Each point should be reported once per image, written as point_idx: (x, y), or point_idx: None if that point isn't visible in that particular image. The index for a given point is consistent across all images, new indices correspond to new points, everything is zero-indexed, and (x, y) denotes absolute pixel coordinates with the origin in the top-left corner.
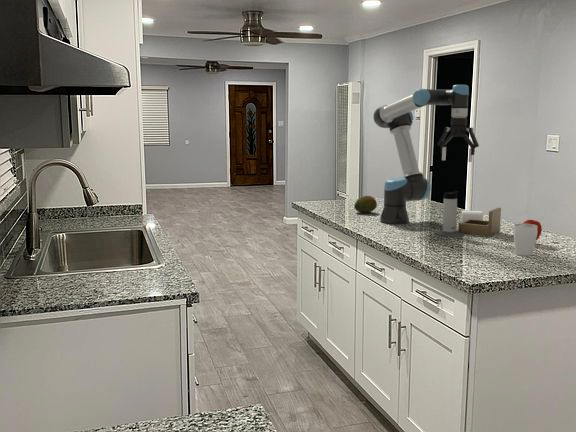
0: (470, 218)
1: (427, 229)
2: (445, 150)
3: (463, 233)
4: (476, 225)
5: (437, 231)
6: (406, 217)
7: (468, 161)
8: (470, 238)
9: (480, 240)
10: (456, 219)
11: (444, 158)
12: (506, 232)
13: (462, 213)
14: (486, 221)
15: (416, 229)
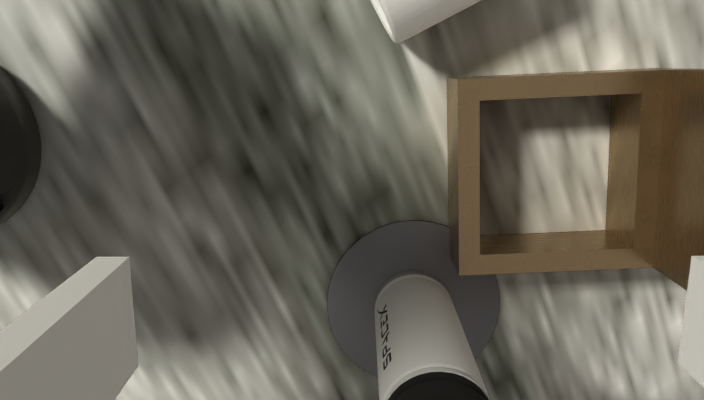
0: (448, 16)
1: (249, 253)
2: (22, 395)
3: (487, 274)
4: (575, 269)
5: (339, 307)
6: (15, 151)
7: (682, 367)
8: (555, 347)
9: (616, 364)
10: (462, 328)
11: (118, 328)
12: (691, 47)
13: (388, 21)
14: (593, 94)
15: (198, 292)
